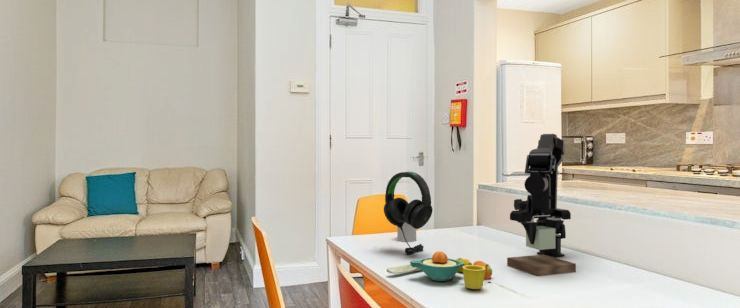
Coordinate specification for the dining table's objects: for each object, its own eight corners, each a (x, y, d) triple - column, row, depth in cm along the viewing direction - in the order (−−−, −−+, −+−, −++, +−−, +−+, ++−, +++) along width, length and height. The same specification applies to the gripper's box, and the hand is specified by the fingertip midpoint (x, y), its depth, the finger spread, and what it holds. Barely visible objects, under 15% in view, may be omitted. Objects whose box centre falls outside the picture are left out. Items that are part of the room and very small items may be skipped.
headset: (379, 253, 169) (379, 171, 169) (404, 248, 178) (404, 170, 178) (418, 261, 156) (418, 172, 156) (443, 255, 166) (443, 171, 166)
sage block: (541, 244, 150) (541, 225, 150) (555, 248, 144) (555, 228, 144) (526, 246, 148) (526, 226, 148) (539, 249, 142) (539, 229, 142)
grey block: (415, 244, 185) (415, 214, 185) (396, 244, 187) (396, 213, 187) (417, 241, 193) (417, 211, 193) (398, 240, 194) (398, 211, 194)
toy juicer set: (502, 276, 138) (502, 249, 138) (480, 291, 123) (480, 261, 123) (414, 264, 154) (414, 240, 154) (385, 276, 138) (385, 249, 138)
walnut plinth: (543, 262, 155) (543, 254, 155) (575, 272, 142) (575, 263, 142) (507, 265, 150) (507, 257, 150) (537, 276, 137) (537, 267, 137)
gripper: (546, 189, 157) (546, 237, 157) (498, 191, 150) (499, 240, 150) (571, 192, 146) (572, 243, 146) (521, 194, 140) (521, 247, 140)
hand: (540, 243), depth 146 cm, fingers closed on sage block, 6 cm apart
